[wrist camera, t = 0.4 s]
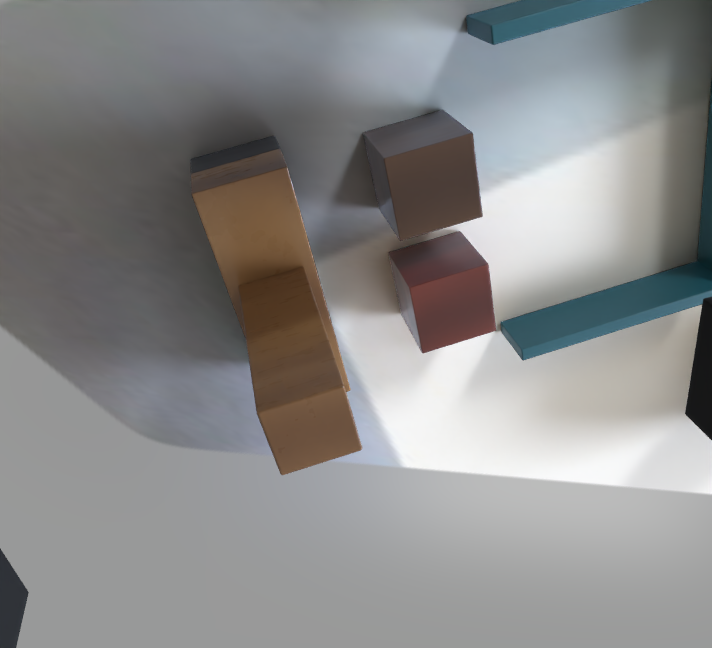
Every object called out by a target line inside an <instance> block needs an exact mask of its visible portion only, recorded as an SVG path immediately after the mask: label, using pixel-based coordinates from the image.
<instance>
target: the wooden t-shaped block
mask: <svg viewBox="0 0 712 648" xmlns="http://www.w3.org/2000/svg"><path fill="white" fill-rule="evenodd" d="M191 191H192V197H193V200H194V203H195V205H196V208H197V211H198V213H199V216H200V219H201V221H202V224H203V227H204V229H205V232H206V235H207V237H208V240H209V243H210V245H211V248H212V250H213V253H214V256H215V258H216V261H217V264H218V266H219V269H220V272H221V274H222V277H223V280H224V282H225V285H226V288H227V290H228V293H229V296H230V298H231V301H232V304H233V306H234V309H235V312H236V314H237V317H238V320H239V322H240V325H241V328H242V330H243V333H244V336H245V338H246V343H247V350H248V357H249V363H250V370H251V377H252V384H253V391H254V397H255V404H256V411H257V415H258V418H259V420H260V423H261V425H262V428H263V430H264V433H265V436H266V438H267V441H268V443H269V446H270V448H271V451H272V453H273V456H274V458H275V461H276V464H277V466H278V469H279V471H280V473H281V475H285V474H288V473H291V472H294V471H297V470H301V469H304V468H307V467H310V466H313V465H316V464H319V463H323V462H326V461H329V460H332V459H335V458H338V457H341V456H345V455H348V454H351V453H354V452H357V451H360V450H362V445H361V442H360V438H359V435H358V431H357V428H356V424H355V421H354V417H353V414H352V410H351V407H350V404H349V400H348V397H347V393H346V392H348V391H350V390H351V389H350V386H349V382H348V379H347V375H346V372H345V368H344V365H343V361H342V358H341V354H340V350H339V347H338V343H337V340H336V336H335V333H334V329H333V326H332V322H331V319H330V315H329V312H328V308H327V304H326V301H325V297H324V294H323V290H322V287H321V283H320V280H319V276H318V273H317V269H316V266H315V262H314V258H313V255H312V251H311V248H310V244H309V241H308V237H307V234H306V230H305V227H304V223H303V220H302V216H301V213H300V209H299V205H298V202H297V198H296V195H295V191H294V188H293V184H292V181H291V177H290V174H289V170H288V167H287V164H286V162H285V159H284V157H283V154H282V152H281V150H280V147H279V145H278V142H277V140H276V137H275V136H272V137H268V138H264V139H261V140H257V141H254V142H250V143H247V144H243V145H240V146H236V147H233V148H229V149H226V150H222V151H219V152H215V153H212V154H208V155H205V156H201V157H198V158H194V159H191Z"/></svg>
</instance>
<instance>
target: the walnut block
mask: <svg viewBox="0 0 712 648" xmlns="http://www.w3.org/2000/svg"><path fill="white" fill-rule="evenodd" d="M363 136H364V141H365V145H366V150H367V155H368V160H369V164H370V169H371V174H372V179H373V183H374V188H375V193H376V197H377V202H378V207H379V210H380V211H381V213H382V214H383V216H384V217H385V219H386V220H387V222H388V223H389V225H390V226H391V228H392V229H393V231H394V233H395V234H396V236H397V237H398V239H399V240H400V241H403V240H406V239H409V238H413V237H416V236H419V235H423V234H426V233H429V232H433V231H436V230H439V229H443V228H446V227H450V226H453V225H456V224H460V223H463V222H466V221H470V220H473V219H476V218H480V217H482V216H483V215H482V206H481V198H480V189H479V181H478V172H477V164H476V155H475V147H474V139H473V133H472V132H471V131H470V130H468V129H467V128H466V127H464V126H463V125H462V124H461V123H459V122H458V121H457V120H455V119H454V118H453V117H452V116H450V115H449V114H448V113H446V112H445V111H444V110H440V111H437V112H433V113H430V114H426V115H423V116H419V117H416V118H412V119H409V120H405V121H402V122H398V123H395V124H391V125H388V126H384V127H381V128H377V129H374V130H370V131H367V132H364V133H363Z"/></svg>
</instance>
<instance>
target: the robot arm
mask: <svg viewBox="0 0 712 648" xmlns="http://www.w3.org/2000/svg"><path fill="white" fill-rule="evenodd" d="M685 414H686V415H687V416H688V417H689V418H690V419H691V420H692V421H693V422H694V423H695V424H696V425H697V426H698V427H699V428H700V429H701V430H702V431H703V432H704V433H705V434H706V435H707V436H708V437H709V438H710V439H711V440H712V297H708V298H704V299H703V304H702V310H701V316H700V323H699V329H698V335H697V342H696V348H695V354H694V361H693V367H692V373H691V380H690V386H689V392H688V399H687V405H686V411H685ZM27 597H28V591H27V589H26V588H25V586H24V585H23V583H22V582H21V580H20V578H19V577H18V575H17V574H16V572H15V571H14V569H13V568H12V566H11V564H10V563H9V561H8V560H7V558H6V557H5V555H4V554H3V552H2V551H1V549H0V648H16V645H17V641H18V636H19V632H20V627H21V623H22V619H23V614H24V610H25V606H26V601H27Z"/></svg>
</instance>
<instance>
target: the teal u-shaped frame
mask: <svg viewBox="0 0 712 648" xmlns="http://www.w3.org/2000/svg"><path fill="white" fill-rule="evenodd" d="M648 1H651V0H521V1H518V2H514V3H510V4H507V5H503V6H500V7H496V8H492V9H489V10H485V11H482V12H478V13H474V14H471V15H467V16H466V21H467V30H468V34H470V35H472V36H474V37H477V38H479V39H481V40H483V41H486V42H488V43H490V44H492V45H495V44H498V43H502V42H506V41H509V40H513V39H516V38H520V37H523V36H527V35H530V34H534V33H538V32H541V31H545V30H548V29H552V28H555V27H559V26H562V25H566V24H570V23H573V22H577V21H580V20H584V19H587V18H591V17H594V16H598V15H602V14H605V13H609V12H612V11H616V10H619V9H623V8H627V7H630V6H634V5H637V4H641V3H644V2H648ZM708 297H712V82H711V95H710V108H709V120H708V133H707V145H706V158H705V171H704V183H703V196H702V208H701V221H700V233H699V246H698V259H697V261H696V262H693V263H690V264H687V265H683V266H680V267H677V268H674V269H670V270H667V271H664V272H661V273H658V274H654V275H651V276H648V277H645V278H641V279H638V280H635V281H632V282H628V283H625V284H622V285H619V286H616V287H612V288H609V289H606V290H603V291H599V292H596V293H593V294H590V295H586V296H583V297H580V298H577V299H574V300H570V301H567V302H564V303H561V304H557V305H554V306H551V307H548V308H545V309H541V310H538V311H535V312H532V313H528V314H525V315H522V316H519V317H515V318H512V319H509V320H506V321H503V322H501V331H502V333H503V335H504V336H505V337H506V339H507V340H508V341H509V343H510V344H511V345H512V347H513V348H514V349H515V351H516V352H517V353H518V355H519V356H520V357H521V359H522V360H526V359H529V358H533V357H536V356H539V355H542V354H545V353H548V352H552V351H555V350H558V349H561V348H564V347H568V346H571V345H574V344H577V343H580V342H583V341H587V340H590V339H593V338H596V337H599V336H603V335H606V334H609V333H612V332H615V331H618V330H622V329H625V328H628V327H631V326H634V325H638V324H641V323H644V322H647V321H650V320H653V319H657V318H660V317H663V316H666V315H669V314H673V313H676V312H679V311H682V310H685V309H688V308H692V307H695V306H698V305H701V304H703V299H704V298H708Z"/></svg>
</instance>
